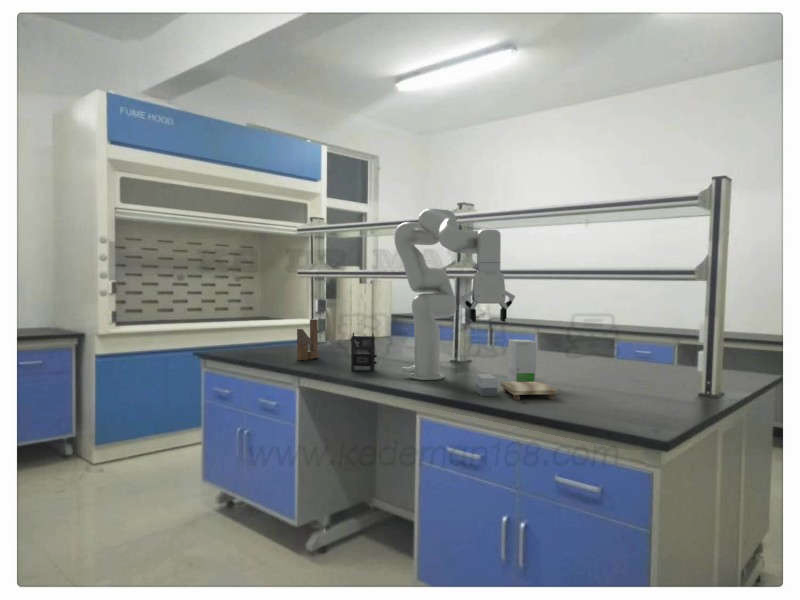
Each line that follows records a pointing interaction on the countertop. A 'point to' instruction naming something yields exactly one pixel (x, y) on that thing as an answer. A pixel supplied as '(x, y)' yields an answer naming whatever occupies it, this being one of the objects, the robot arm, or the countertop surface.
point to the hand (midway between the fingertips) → (488, 321)
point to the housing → (486, 384)
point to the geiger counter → (363, 353)
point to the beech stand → (528, 389)
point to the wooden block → (308, 342)
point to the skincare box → (521, 361)
